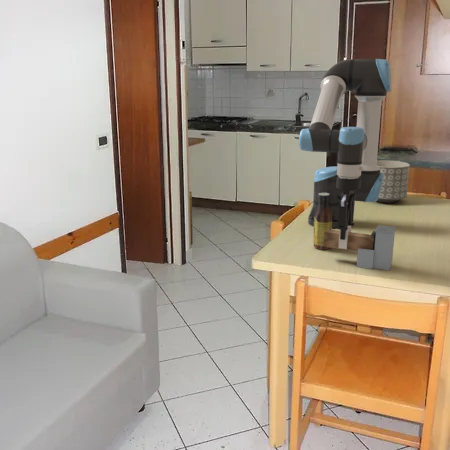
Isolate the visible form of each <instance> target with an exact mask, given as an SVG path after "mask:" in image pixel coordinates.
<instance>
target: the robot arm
mask: <svg viewBox="0 0 450 450" xmlns="http://www.w3.org/2000/svg"><path fill="white" fill-rule="evenodd" d="M391 73H392V71H391V64H390V62H389V60H387V59H383V58H382V59H381V58H360V59H356V58H355V59H352V58H350V59H349V58H347V59H344V60H341V61H339V62H337V63H335V64H334V65H333V66H332V67H330V68H329V69H328V70H326V72H325V74H324V75H323V77H322V79H321V82H320V85H319V86H320V93H319V98H318V100H317V103H316V106H315V108H314V112H313V115H312V119H311V122H310V124H309V127H307V128H302V129H301V130H300V131H299V137H298V144H299V145H298V146H299V149H300V150H301V151H305V152H311V153H313V152H314V153H334V154H335V153H336V154H337V155H338V157H337V166H327V167H321V168H318V169H317V170H315V172H314V178H313V201H312V202H313V203H312V207H311V209H310V212H309V214H308V216H307V217H308V218H307V222H308V224H309V225H310V226H313V227H314V215H315V212H316V210H317V207H318V200H319V199H318V194H319V193H329V194H330V198H329V208H330V210H331V212H332V229H336V230H338V231H339V245H338V248H337V249H339V248H341V249H340V250H346V249H347V242H348V232H352V227H354V226H355V223H354V216H355V215H354V214H355V203H356V202H363V203H375V202H378V201H377V200H378V198H379V194H380V190H381V186H382V182H383V176H384V174H383V173H380V167H379V166H378V165H377V161H378V152H379V151H378V150H379V137H380V125H381V115H382V114H381V112H382V102H383V100H385V98H386V97H387V93H388V92H391V91H392V74H391ZM346 92H354V97H355V98H356V99H357V101H358V103H357V115H356V126H343V127H341V128H340V129H332V128H333V126H334V122H335V119H336V116H337V111H338V108H339V105H340V102H341V98H342V96H343V95H344V94H345V93H346Z"/></svg>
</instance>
